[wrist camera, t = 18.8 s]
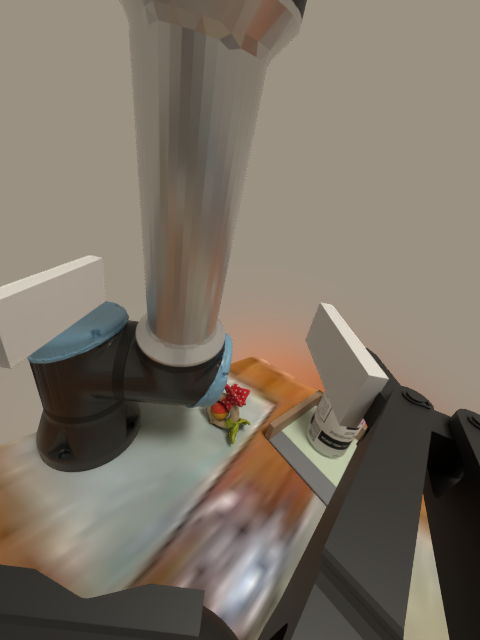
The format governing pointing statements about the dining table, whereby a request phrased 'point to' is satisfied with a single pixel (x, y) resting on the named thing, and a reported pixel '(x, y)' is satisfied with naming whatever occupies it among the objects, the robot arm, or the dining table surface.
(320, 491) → the corner arena
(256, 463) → the dining table surface
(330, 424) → the supplement can
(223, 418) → the bird rattle
